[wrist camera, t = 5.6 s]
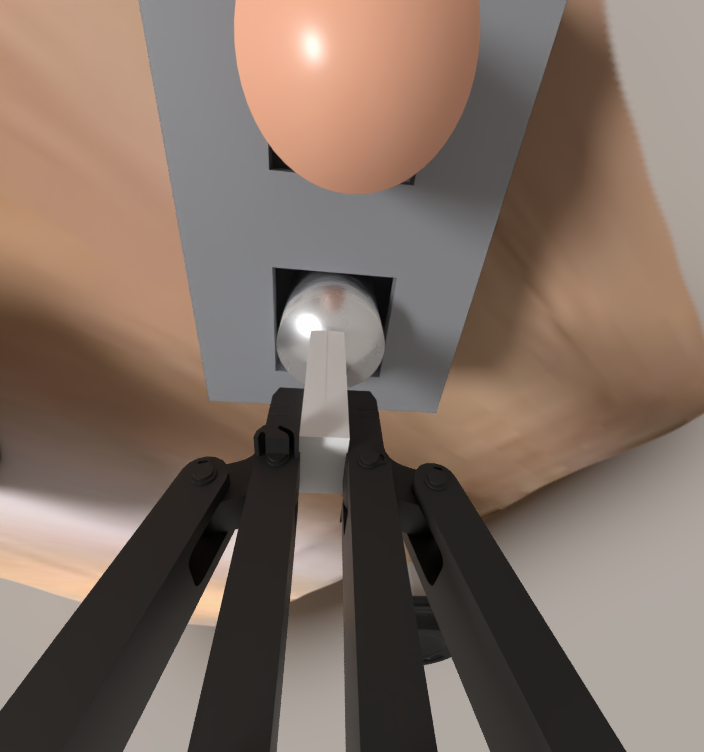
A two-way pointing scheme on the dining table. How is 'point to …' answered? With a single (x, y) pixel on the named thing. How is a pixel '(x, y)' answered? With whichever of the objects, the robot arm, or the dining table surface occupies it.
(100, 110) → the dining table surface
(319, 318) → the silver rounded piece
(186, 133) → the block with square holes
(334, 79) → the brown egg
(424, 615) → the coffee cup
